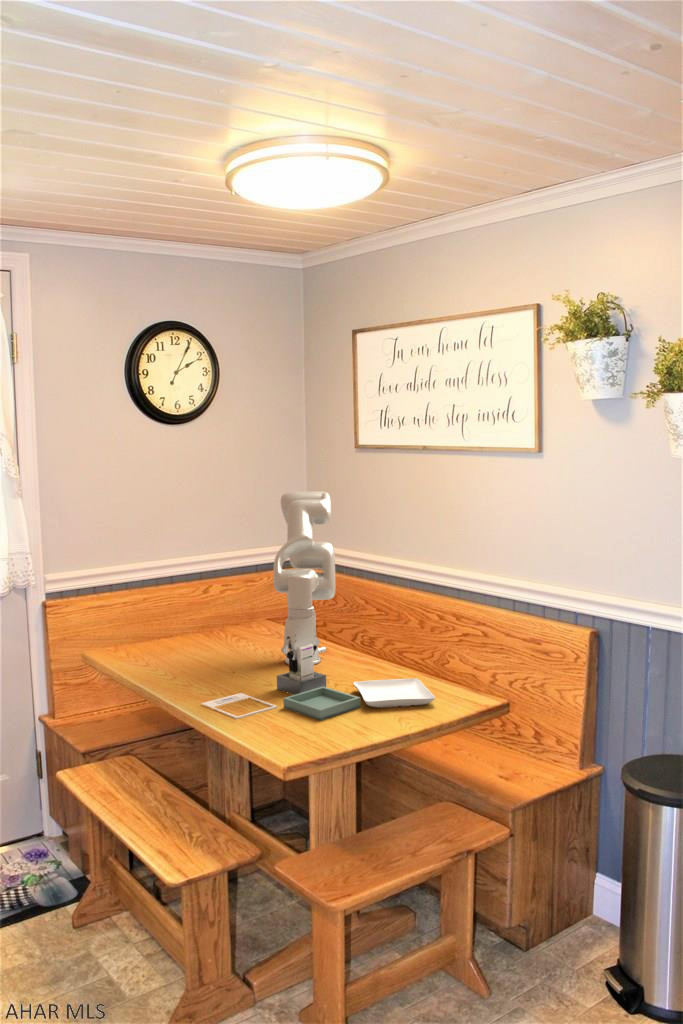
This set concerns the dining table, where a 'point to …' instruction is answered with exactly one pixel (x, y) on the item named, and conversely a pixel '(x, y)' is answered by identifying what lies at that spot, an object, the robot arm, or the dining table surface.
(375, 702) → the salad plate
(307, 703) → the tray
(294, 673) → the syrup box
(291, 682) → the sleeve
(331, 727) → the dining table surface
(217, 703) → the photo frame
